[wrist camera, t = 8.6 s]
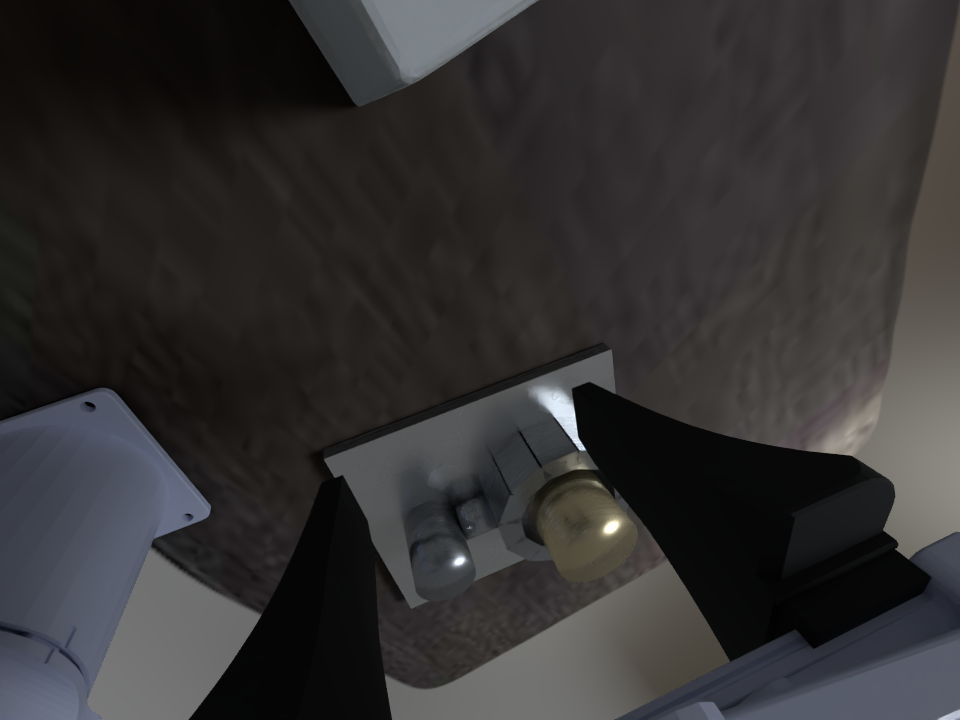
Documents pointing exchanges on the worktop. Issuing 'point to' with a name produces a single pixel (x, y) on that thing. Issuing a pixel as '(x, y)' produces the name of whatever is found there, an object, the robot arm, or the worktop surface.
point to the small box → (397, 37)
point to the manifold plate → (470, 476)
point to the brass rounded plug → (582, 525)
